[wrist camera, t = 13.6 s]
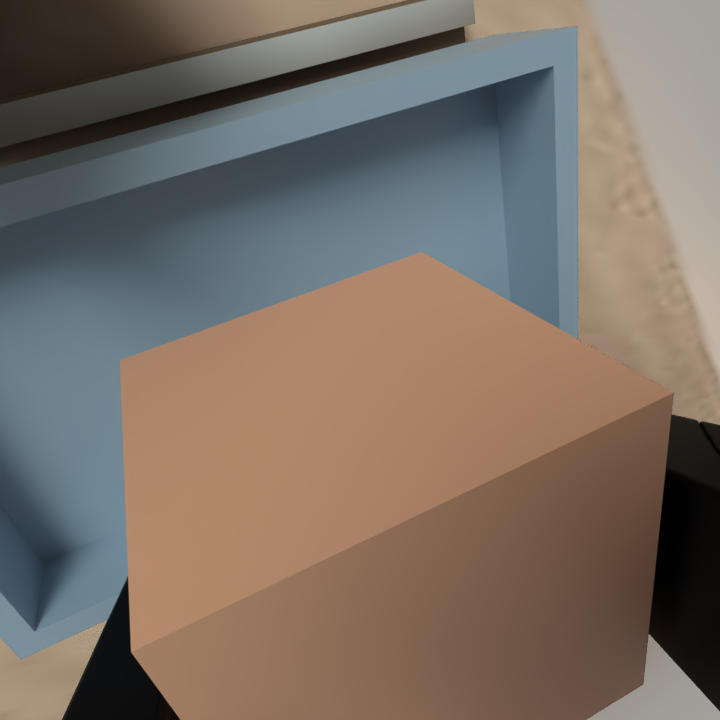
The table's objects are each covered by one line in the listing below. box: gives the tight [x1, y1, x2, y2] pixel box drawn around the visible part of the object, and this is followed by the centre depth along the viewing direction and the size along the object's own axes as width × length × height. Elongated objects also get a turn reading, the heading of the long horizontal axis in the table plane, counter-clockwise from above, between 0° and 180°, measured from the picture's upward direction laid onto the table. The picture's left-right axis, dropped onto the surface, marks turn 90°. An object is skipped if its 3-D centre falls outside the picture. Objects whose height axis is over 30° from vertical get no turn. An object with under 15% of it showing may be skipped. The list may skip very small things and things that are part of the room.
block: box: [120, 252, 673, 720], centre depth 8 cm, size 5×5×5 cm
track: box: [0, 0, 475, 167], centre depth 15 cm, size 12×29×2 cm, turn 103°
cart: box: [0, 26, 578, 659], centre depth 14 cm, size 10×16×5 cm, turn 103°
